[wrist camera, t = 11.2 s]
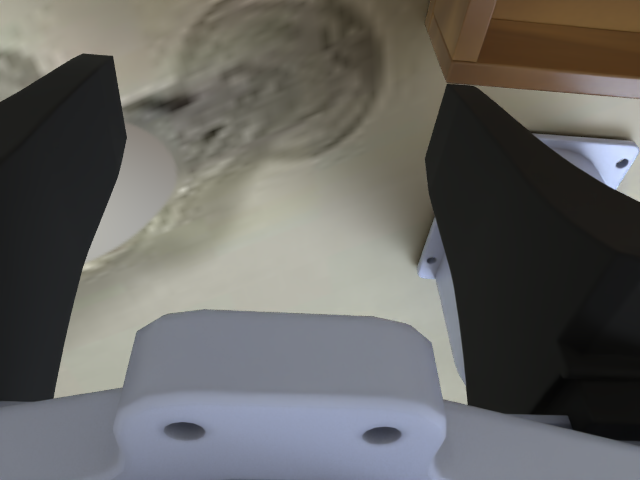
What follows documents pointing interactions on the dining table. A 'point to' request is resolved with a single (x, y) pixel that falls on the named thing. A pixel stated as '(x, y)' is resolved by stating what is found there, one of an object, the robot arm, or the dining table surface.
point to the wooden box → (539, 44)
